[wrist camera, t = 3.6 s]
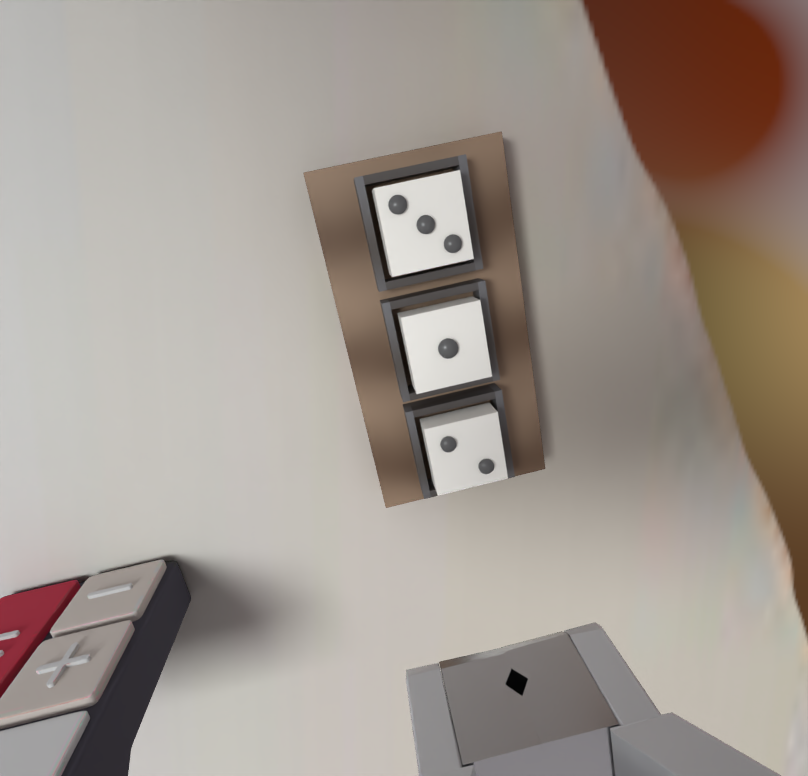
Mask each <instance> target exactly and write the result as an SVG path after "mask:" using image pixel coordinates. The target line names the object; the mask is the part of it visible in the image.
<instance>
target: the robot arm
mask: <svg viewBox="0 0 808 776" xmlns="http://www.w3.org/2000/svg"><path fill="white" fill-rule="evenodd" d="M439 663H440V667H439ZM439 663H436V664H431V665H427V666H422V667H418V668H413V669H408V670H406V684H407V691H408V698H409V706H410V713H411V720H412V728H413V735H414V742H415V749H416V757H417V764H418V771H419V776H781V775H779V774H778V773H776V772H774V771H772V770H771V769H769V768H767V767H766V766H764V765H762V764H760V763H759V762H757V761H755V760H753V759H752V758H750V757H748V756H747V755H745V754H743V753H741V752H740V751H738V750H736V749H734V748H733V747H731V746H729V745H728V744H726V743H724V742H722V741H721V740H719V739H717V738H715V737H714V736H712V735H710V734H709V733H707V732H705V731H703V730H702V729H700V728H698V727H696V726H695V725H693V724H691V723H690V722H688V721H686V720H684V719H683V718H681V717H679V716H677V715H676V714H674V713H667V714H662V715H661V714H660V712H659V711H658V709H657V708H656V706H655V705H654V703H653V702H652V700H651V699H650V697H649V696H648V694H647V693H646V691H645V690H644V688H643V687H642V686H641V684H640V683H639V681H638V680H637V678H636V677H635V675H634V674H633V672H632V671H631V669H630V668H629V666H628V665H627V663H626V662H625V660H624V659H623V658H622V656H621V655H620V653H619V652H618V650H617V649H616V647H615V646H614V644H613V643H612V641H611V640H610V638H609V637H608V635H607V634H606V632H605V631H604V629H603V628H602V627H601V626H600V625H599V624H597V623H596V622H595V623H591V624H587V625H584V626H580V627H576V628H572V629H569V630H565V631H564V632H562V631H561V632H557V633H554V634H550V635H546V636H542V637H538V638H535V639H531V640H527V641H523V642H520V643H516V644H512V645H508V646H504V647H501V648H499V649H494V650H490V651H485V652H481V653H476V654H472V655H468V656H463V657H459V658H454V659H450V660H445V661H441V662H439ZM440 668H441V671H440ZM441 673H442V675H441ZM442 678H443V680H442ZM443 682H444V684H443ZM444 687H445V688H444ZM445 691H446V693H445ZM446 696H447V697H446ZM447 700H448V701H447ZM449 709H450V710H449Z"/></svg>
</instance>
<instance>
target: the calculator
mask: <svg viewBox="0 0 808 776" xmlns="http://www.w3.org/2000/svg"><path fill="white" fill-rule="evenodd" d="M190 600H191V596H190V594H189V591H188V588H187V586H186V583H185V581H184V578H183V576H182V573H181V571H180V568H179V566H178V564H177V562H175V561H170V562H166V563H165V561H164V560H156V561H152V562H148V563H144V564H139V565H135V566H131V567H127V568H123V569H118V570H114V571H110V572H106V573H101V574H97V575H94V576H91V577H89V578H88V579H87V580H86V581H85V582H82V583H79V582H78V580H72V581H68V582H63V583H59V584H55V585H51V586H46V587H42V588H38V589H34V590H30V591H25V592H21V593H17V594H13V595H8V596H5V597H3V598H1V599H0V776H128V770H129V761H130V753H131V747H132V744H133V742H134V739H135V737H136V734H137V732H138V729H139V727H140V724H141V722H142V719H143V717H144V714H145V712H146V709H147V707H148V704H149V702H150V699H151V697H152V695H153V692H154V690H155V687H156V685H157V682H158V680H159V677H160V675H161V672H162V670H163V667H164V665H165V662H166V660H167V657H168V655H169V652H170V650H171V647H172V645H173V643H174V640H175V638H176V635H177V633H178V630H179V628H180V625H181V623H182V620H183V618H184V615H185V613H186V610H187V608H188V605H189V603H190Z"/></svg>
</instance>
